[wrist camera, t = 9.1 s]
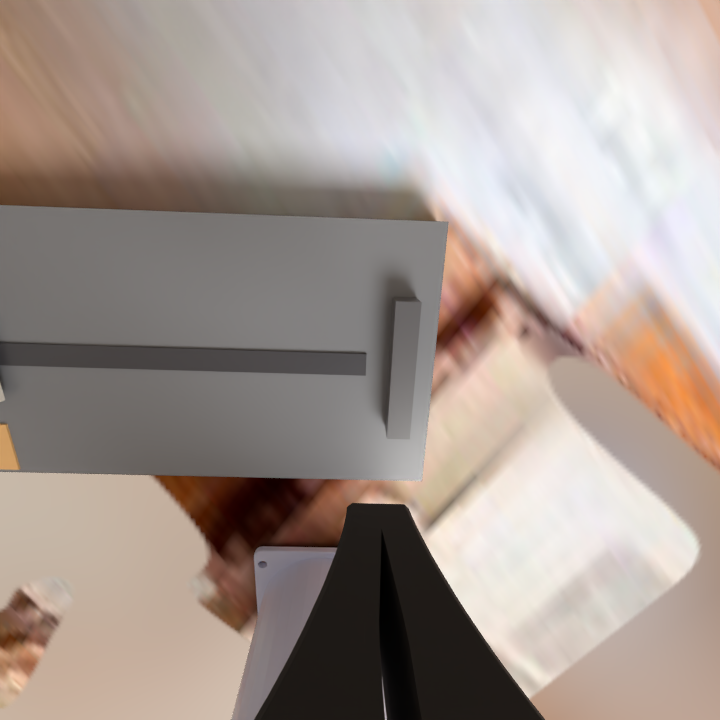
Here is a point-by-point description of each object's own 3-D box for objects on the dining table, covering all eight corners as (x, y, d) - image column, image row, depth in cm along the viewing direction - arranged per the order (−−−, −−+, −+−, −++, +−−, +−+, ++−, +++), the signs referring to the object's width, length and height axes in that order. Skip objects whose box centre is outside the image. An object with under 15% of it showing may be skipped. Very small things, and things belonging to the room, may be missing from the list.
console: (415, 458, 20) (426, 497, 17) (-112, 445, 19) (-199, 483, 16) (437, 224, 16) (456, 220, 13) (-213, 199, 16) (-350, 189, 13)
